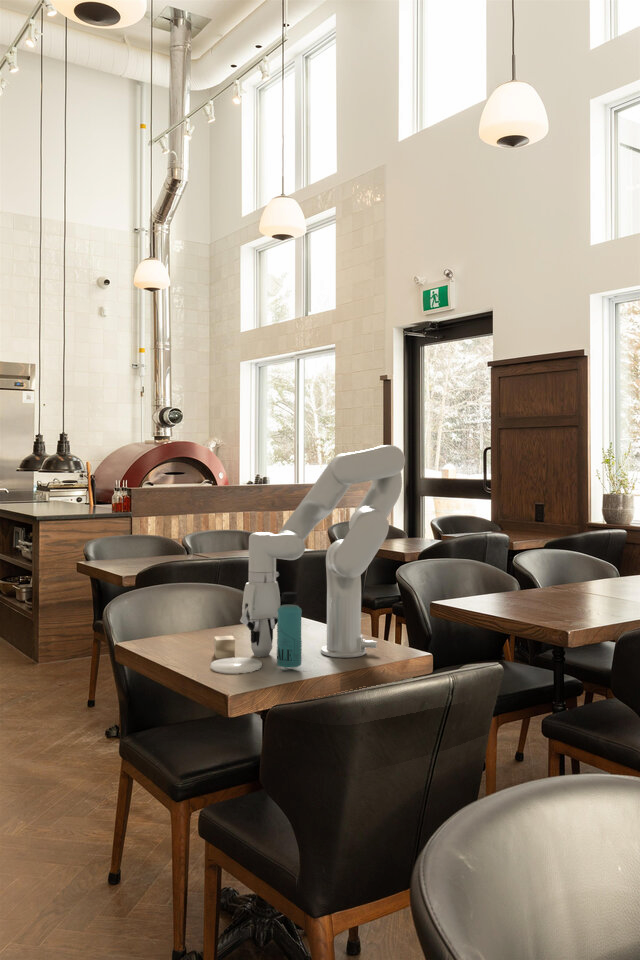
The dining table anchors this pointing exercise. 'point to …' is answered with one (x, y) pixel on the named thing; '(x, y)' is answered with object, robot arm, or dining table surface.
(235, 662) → the side plate
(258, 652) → the salt shaker
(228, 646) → the oak block
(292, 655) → the beverage bottle
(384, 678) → the dining table surface
